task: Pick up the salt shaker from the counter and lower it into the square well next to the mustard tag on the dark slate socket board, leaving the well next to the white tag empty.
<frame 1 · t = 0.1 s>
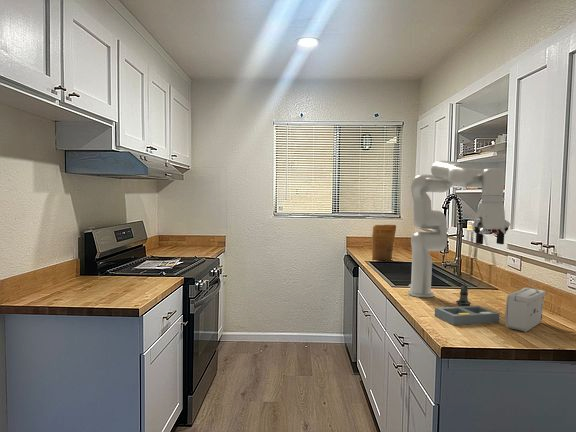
hand: (489, 243, 159), 31 cm above the worktop, tool pointing down, fingers open, 9 cm apart
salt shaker: (463, 310, 178), on the worktop
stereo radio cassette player: (524, 326, 158), on the worktop
pancake mix bag: (382, 260, 314), on the worktop
socket board: (466, 319, 164), on the worktop
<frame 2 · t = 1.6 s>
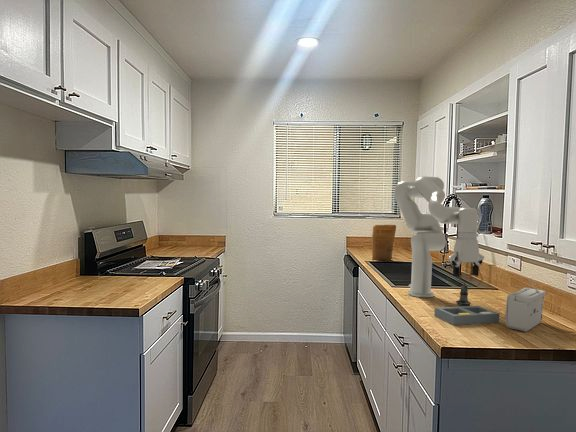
hand: (465, 275, 176), 15 cm above the worktop, tool pointing down, fingers open, 9 cm apart
nothing on the worktop moved.
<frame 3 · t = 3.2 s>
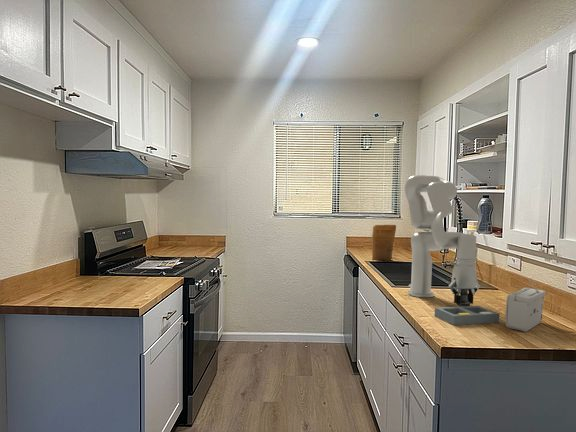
hand: (463, 303, 178), 3 cm above the worktop, tool pointing down, fingers closed on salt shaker, 5 cm apart
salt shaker: (463, 310, 178), on the worktop, touching gripper
everything else where it was.
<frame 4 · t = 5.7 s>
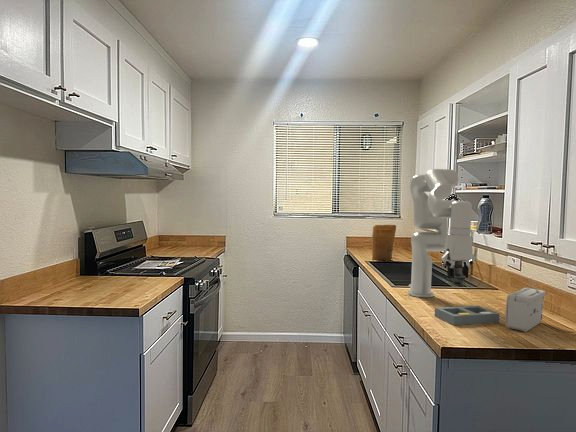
hand: (457, 276, 162), 17 cm above the worktop, tool pointing down, fingers closed on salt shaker, 5 cm apart
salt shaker: (457, 285, 162), point 14 cm above the worktop, touching gripper
everything else where it was.
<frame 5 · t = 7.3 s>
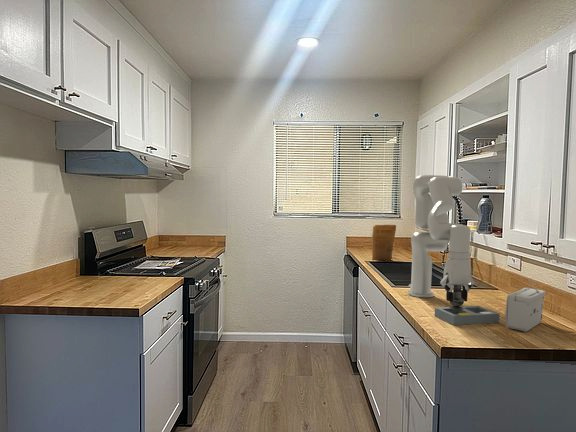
hand: (456, 300, 162), 8 cm above the worktop, tool pointing down, fingers closed on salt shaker, 5 cm apart
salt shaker: (456, 308, 162), point 5 cm above the worktop, touching gripper
everything else where it was.
when the fingers open (5 cm above the worktop, at t = 8.4 s): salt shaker drops 2 cm, resting in socket board.
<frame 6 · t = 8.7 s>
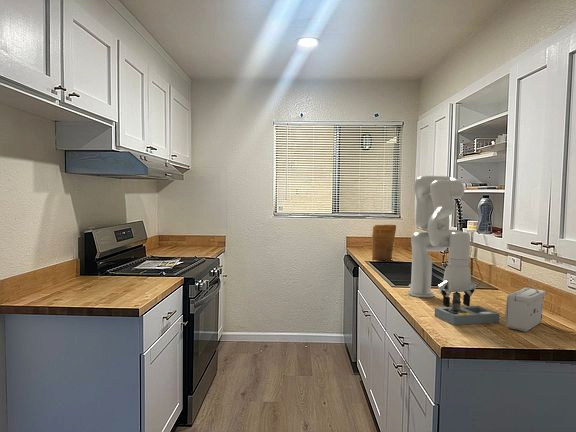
hand: (456, 305, 162), 6 cm above the worktop, tool pointing down, fingers open, 9 cm apart
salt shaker: (455, 320, 163), resting in socket board
everything else where it was.
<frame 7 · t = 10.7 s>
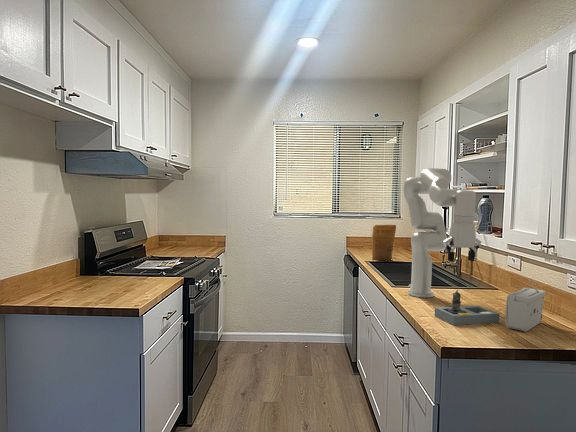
hand: (460, 261, 169), 23 cm above the worktop, tool pointing down, fingers open, 9 cm apart
nothing on the worktop moved.
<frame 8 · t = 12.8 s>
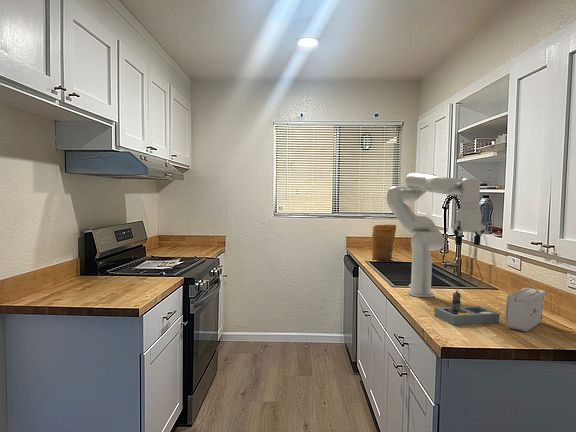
hand: (467, 244, 180), 28 cm above the worktop, tool pointing down, fingers open, 9 cm apart
nothing on the worktop moved.
at the end: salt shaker 0.1 cm from the target spot on the socket board, point 0.0 cm above the socket board's base; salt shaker tilted 0°; the gripper is holding nothing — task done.
